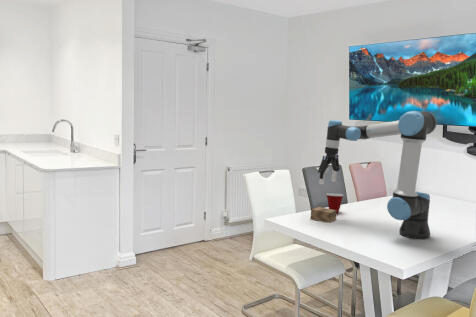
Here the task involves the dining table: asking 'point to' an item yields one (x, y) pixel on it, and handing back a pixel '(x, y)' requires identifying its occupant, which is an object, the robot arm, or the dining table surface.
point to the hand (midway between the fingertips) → (327, 182)
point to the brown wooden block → (323, 214)
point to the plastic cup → (334, 201)
